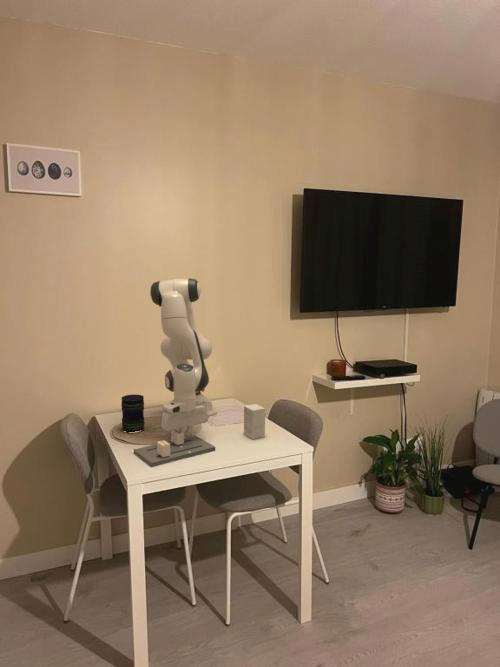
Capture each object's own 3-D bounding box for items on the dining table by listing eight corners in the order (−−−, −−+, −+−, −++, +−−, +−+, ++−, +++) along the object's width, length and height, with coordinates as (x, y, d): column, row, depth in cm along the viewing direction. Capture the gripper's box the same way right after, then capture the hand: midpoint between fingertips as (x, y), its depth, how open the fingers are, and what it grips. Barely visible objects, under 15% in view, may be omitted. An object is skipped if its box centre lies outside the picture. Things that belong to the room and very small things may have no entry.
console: (195, 438, 214) (195, 434, 213) (215, 450, 201) (215, 446, 201) (133, 453, 197) (133, 449, 197) (151, 466, 184) (151, 462, 184)
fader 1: (164, 451, 194) (164, 439, 194) (170, 455, 190) (170, 443, 190) (157, 453, 193) (157, 441, 192) (163, 457, 189) (163, 445, 188)
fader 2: (177, 439, 207) (177, 429, 206) (183, 443, 203) (183, 432, 202) (171, 441, 205) (171, 430, 204) (177, 445, 201) (177, 434, 200)
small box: (265, 437, 216) (265, 408, 214) (252, 439, 213) (252, 410, 211) (255, 431, 223) (256, 403, 221) (243, 434, 220) (243, 405, 218)
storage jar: (149, 429, 224) (148, 397, 222) (130, 435, 217) (129, 401, 215) (135, 424, 231) (135, 393, 228) (117, 429, 223) (116, 397, 221)
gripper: (202, 398, 212) (202, 429, 214) (159, 406, 200) (159, 439, 202) (210, 401, 207) (210, 433, 209) (166, 410, 195) (167, 444, 197)
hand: (185, 436), depth 206 cm, fingers closed
